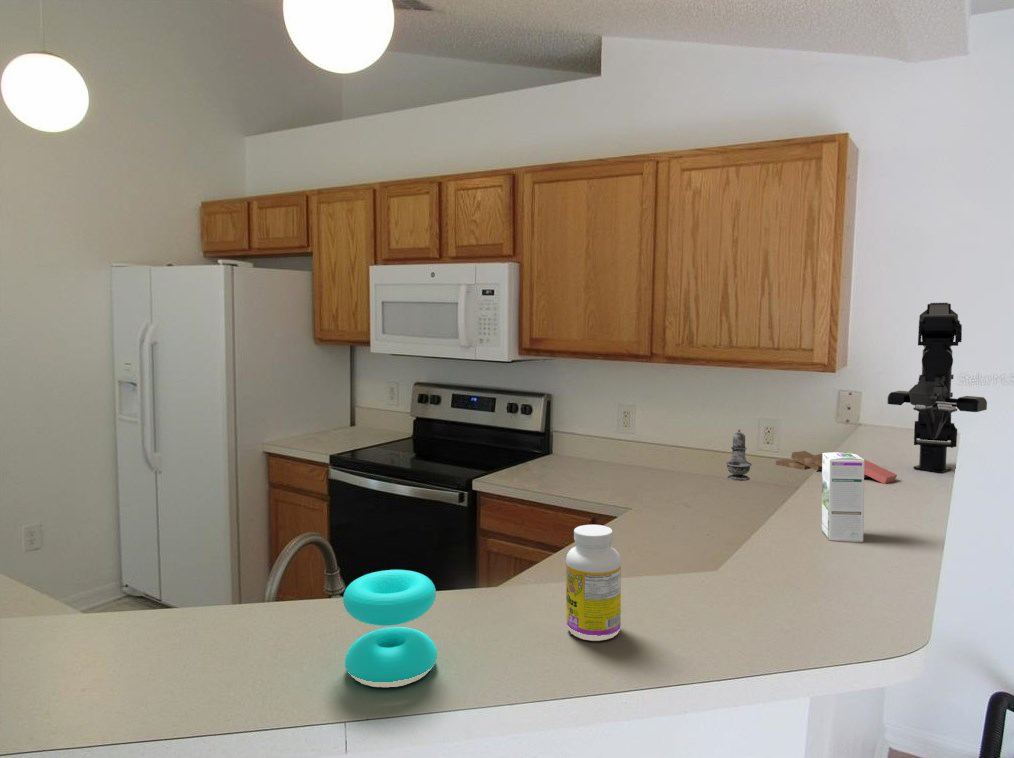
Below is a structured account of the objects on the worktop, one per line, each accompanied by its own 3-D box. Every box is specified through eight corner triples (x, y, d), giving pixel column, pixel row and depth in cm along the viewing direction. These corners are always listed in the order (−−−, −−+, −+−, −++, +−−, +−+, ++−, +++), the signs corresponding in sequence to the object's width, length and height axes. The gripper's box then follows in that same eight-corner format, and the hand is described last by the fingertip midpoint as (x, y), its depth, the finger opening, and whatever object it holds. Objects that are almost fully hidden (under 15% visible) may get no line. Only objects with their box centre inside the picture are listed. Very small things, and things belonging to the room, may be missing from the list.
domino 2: (817, 471, 173) (790, 458, 179) (829, 469, 175) (803, 456, 182) (819, 465, 172) (792, 452, 179) (831, 463, 175) (805, 450, 181)
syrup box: (864, 542, 118) (867, 458, 117) (827, 540, 119) (829, 457, 118) (854, 532, 124) (857, 452, 122) (819, 531, 125) (821, 451, 123)
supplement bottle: (565, 619, 89) (564, 521, 88) (616, 620, 89) (617, 521, 88) (568, 644, 82) (567, 538, 81) (624, 644, 82) (624, 538, 81)
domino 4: (884, 484, 159) (851, 468, 165) (894, 480, 162) (862, 465, 168) (886, 477, 159) (854, 462, 165) (897, 474, 162) (864, 459, 168)
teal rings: (333, 601, 71) (352, 566, 81) (336, 695, 71) (354, 649, 81) (432, 599, 71) (438, 565, 81) (434, 692, 72) (440, 647, 82)
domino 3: (840, 476, 168) (810, 461, 174) (850, 473, 171) (821, 458, 177) (842, 470, 167) (812, 455, 173) (853, 467, 170) (823, 453, 176)
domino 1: (804, 472, 175) (775, 467, 181) (815, 469, 178) (786, 464, 184) (804, 466, 175) (776, 460, 181) (815, 463, 178) (786, 458, 184)
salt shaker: (747, 475, 169) (748, 427, 168) (754, 481, 163) (755, 430, 162) (723, 475, 170) (723, 427, 169) (728, 481, 164) (729, 430, 163)
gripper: (877, 370, 160) (874, 437, 161) (968, 375, 145) (965, 449, 146) (899, 367, 166) (897, 431, 168) (989, 371, 151) (986, 442, 153)
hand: (933, 438), depth 158 cm, fingers closed
